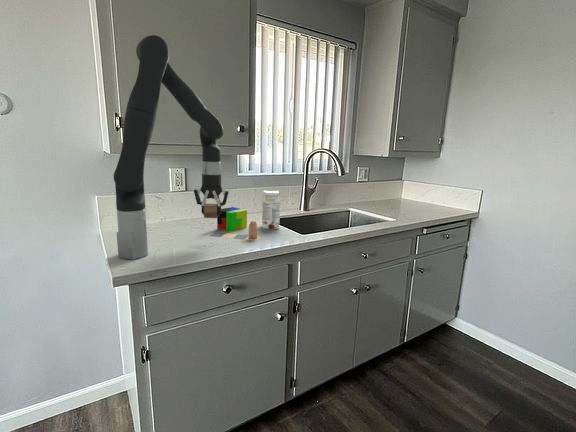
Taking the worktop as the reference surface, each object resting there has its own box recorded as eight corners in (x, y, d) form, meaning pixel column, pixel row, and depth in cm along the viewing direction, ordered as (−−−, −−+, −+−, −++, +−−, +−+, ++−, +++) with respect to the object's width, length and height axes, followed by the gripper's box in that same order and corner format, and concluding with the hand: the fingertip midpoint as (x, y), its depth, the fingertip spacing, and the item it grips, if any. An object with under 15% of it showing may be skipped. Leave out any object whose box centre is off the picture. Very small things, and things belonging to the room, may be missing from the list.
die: (216, 218, 131) (216, 205, 130) (203, 217, 130) (203, 205, 129) (218, 215, 136) (218, 203, 135) (206, 215, 135) (206, 203, 134)
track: (256, 243, 138) (256, 240, 138) (208, 238, 143) (208, 235, 142) (261, 239, 145) (261, 236, 145) (215, 234, 149) (215, 231, 149)
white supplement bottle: (279, 231, 159) (280, 192, 155) (261, 231, 158) (262, 192, 154) (278, 227, 166) (279, 190, 162) (261, 227, 166) (262, 190, 161)
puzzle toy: (233, 226, 166) (233, 207, 163) (246, 230, 159) (246, 210, 157) (217, 229, 158) (217, 209, 156) (231, 234, 152) (231, 213, 150)
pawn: (255, 239, 140) (255, 221, 138) (247, 238, 141) (247, 221, 139) (258, 237, 143) (258, 220, 142) (250, 236, 144) (250, 219, 143)
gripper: (190, 173, 125) (191, 216, 129) (228, 174, 126) (228, 217, 130) (195, 171, 132) (195, 212, 136) (230, 173, 133) (230, 213, 137)
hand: (211, 214), depth 133 cm, fingers closed on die, 5 cm apart
